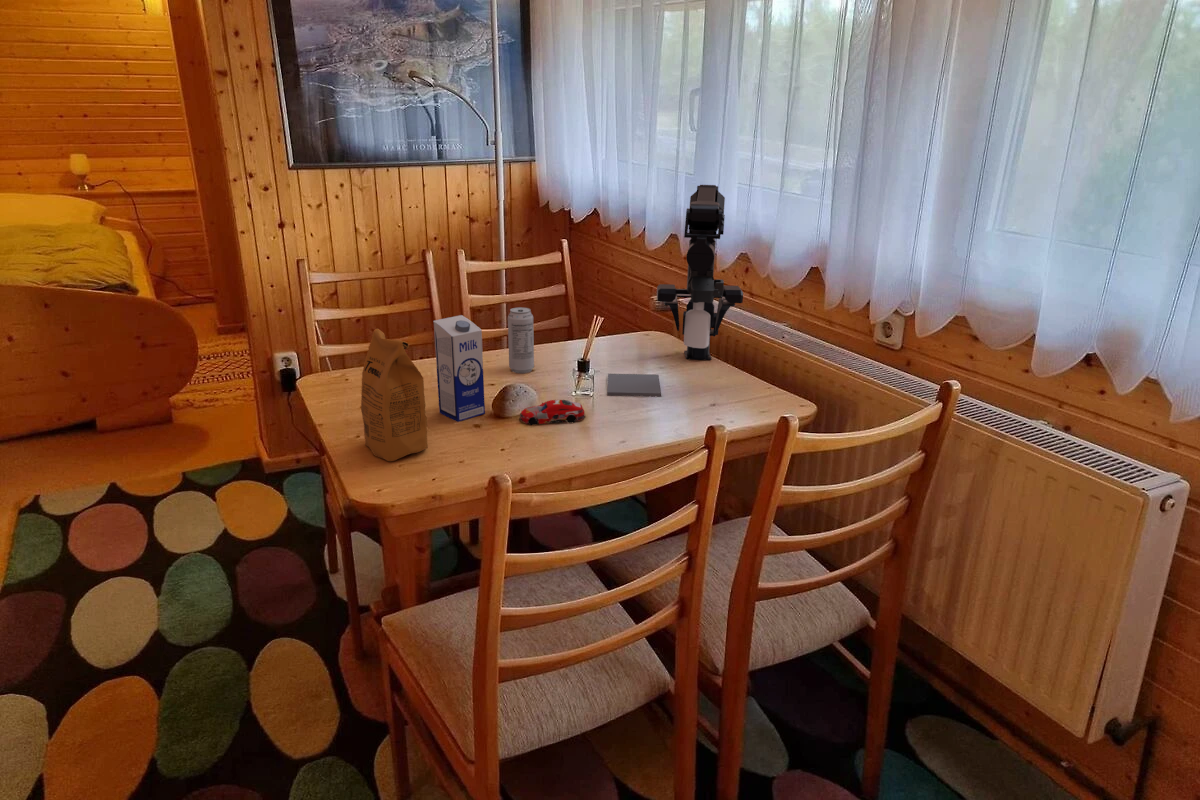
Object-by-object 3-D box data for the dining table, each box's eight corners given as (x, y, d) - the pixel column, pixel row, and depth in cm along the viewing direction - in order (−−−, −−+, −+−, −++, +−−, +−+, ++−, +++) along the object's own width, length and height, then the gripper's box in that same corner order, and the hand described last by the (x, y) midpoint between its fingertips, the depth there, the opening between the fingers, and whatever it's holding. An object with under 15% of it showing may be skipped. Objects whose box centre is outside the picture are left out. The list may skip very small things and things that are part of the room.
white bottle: (695, 341, 180) (698, 290, 176) (711, 347, 175) (715, 295, 171) (680, 344, 178) (683, 292, 173) (696, 350, 173) (699, 297, 169)
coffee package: (406, 431, 152) (398, 322, 144) (435, 452, 143) (427, 337, 135) (357, 443, 146) (345, 330, 138) (383, 466, 137) (372, 347, 129)
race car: (521, 427, 155) (520, 409, 154) (519, 417, 160) (518, 399, 159) (586, 423, 157) (586, 405, 156) (581, 413, 162) (581, 396, 161)
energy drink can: (533, 366, 191) (532, 306, 186) (534, 373, 186) (533, 312, 180) (508, 366, 190) (507, 307, 185) (509, 374, 185) (507, 313, 180)
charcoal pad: (607, 376, 184) (608, 373, 184) (658, 377, 184) (658, 374, 184) (607, 395, 172) (607, 392, 172) (661, 396, 172) (661, 393, 172)
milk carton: (466, 405, 166) (462, 313, 159) (485, 413, 161) (482, 320, 154) (438, 413, 161) (432, 319, 154) (457, 422, 156) (452, 326, 149)
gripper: (660, 268, 162) (657, 340, 168) (749, 270, 162) (743, 342, 168) (657, 258, 173) (655, 326, 178) (741, 260, 173) (736, 328, 178)
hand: (697, 331), depth 175 cm, fingers closed on white bottle, 8 cm apart
